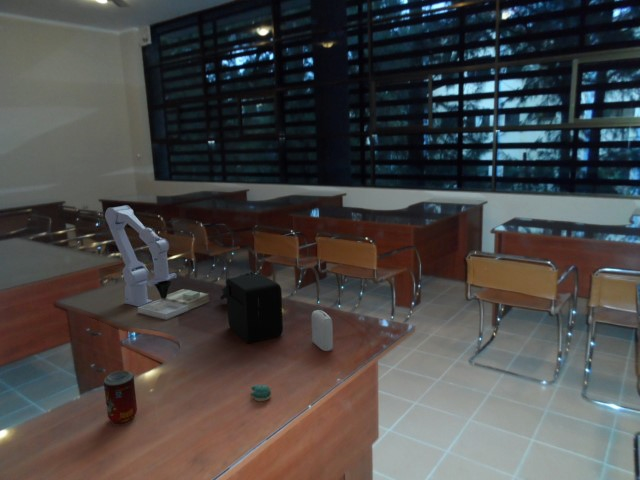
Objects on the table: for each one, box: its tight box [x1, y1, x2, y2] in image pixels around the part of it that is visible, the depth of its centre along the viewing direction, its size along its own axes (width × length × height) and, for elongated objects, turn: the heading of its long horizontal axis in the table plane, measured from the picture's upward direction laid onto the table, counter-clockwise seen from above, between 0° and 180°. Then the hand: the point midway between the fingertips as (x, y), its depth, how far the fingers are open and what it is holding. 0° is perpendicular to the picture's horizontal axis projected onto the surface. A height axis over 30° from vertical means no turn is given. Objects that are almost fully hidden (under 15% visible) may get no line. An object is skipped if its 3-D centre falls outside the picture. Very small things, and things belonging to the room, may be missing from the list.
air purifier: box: [225, 272, 284, 344], centre depth 174 cm, size 20×15×20 cm
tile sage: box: [183, 290, 200, 300], centre depth 205 cm, size 5×5×2 cm
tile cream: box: [149, 302, 167, 311], centre depth 200 cm, size 5×5×2 cm
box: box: [137, 298, 190, 321], centre depth 198 cm, size 17×12×2 cm
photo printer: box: [311, 309, 334, 352], centre depth 161 cm, size 10×4×12 cm, turn 26°
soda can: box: [103, 370, 138, 426], centre depth 120 cm, size 7×7×12 cm
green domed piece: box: [250, 384, 272, 402], centre depth 131 cm, size 6×7×4 cm
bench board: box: [160, 288, 210, 311], centre depth 208 cm, size 16×13×4 cm
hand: (163, 297), depth 203 cm, fingers closed
